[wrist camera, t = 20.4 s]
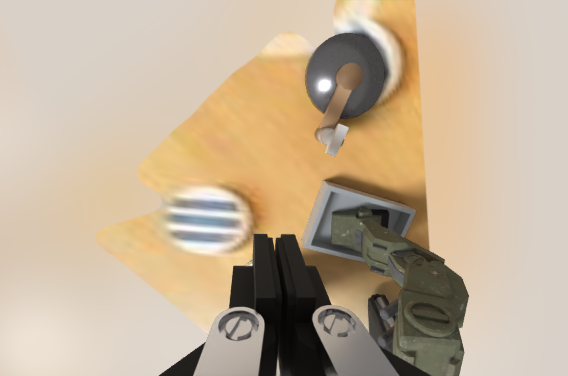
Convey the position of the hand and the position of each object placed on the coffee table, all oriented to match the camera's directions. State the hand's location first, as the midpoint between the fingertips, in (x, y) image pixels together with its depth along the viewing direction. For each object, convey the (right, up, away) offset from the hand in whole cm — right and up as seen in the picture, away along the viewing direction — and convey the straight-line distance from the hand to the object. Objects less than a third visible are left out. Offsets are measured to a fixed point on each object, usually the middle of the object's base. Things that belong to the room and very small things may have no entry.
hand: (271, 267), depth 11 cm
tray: (+13, -3, +39) cm, 42 cm away
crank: (+8, +16, +31) cm, 36 cm away
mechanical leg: (+13, -3, +39) cm, 41 cm away
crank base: (+10, +20, +32) cm, 39 cm away
